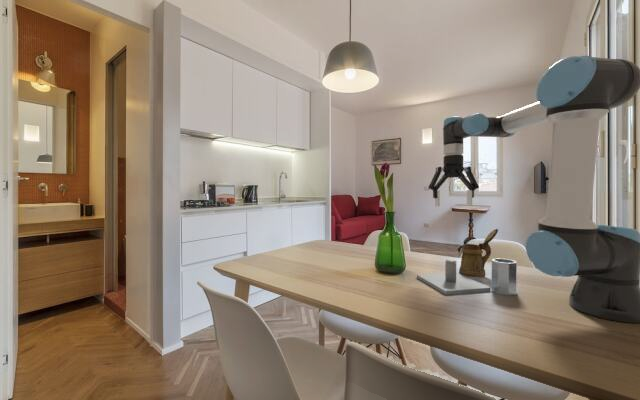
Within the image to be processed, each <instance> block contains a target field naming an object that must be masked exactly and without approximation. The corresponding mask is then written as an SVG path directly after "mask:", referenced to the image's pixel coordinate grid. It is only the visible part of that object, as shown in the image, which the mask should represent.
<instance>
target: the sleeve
mask: <svg viewBox="0 0 640 400" xmlns="http://www.w3.org/2000/svg"><path fill="white" fill-rule="evenodd" d="M517 262H518V261H517V260H514V259H511V258H510V259H509V258H502V257H498V258H491V292H493V293H496V294H498V295H503V296H504V295H505V296H517Z"/></svg>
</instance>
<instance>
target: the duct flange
mask: <svg viewBox="0 0 640 400" xmlns="http://www.w3.org/2000/svg"><path fill="white" fill-rule="evenodd" d="M444 263H445V265H444V266H445V268H444V269H445V270H444V271H445V272H438V273H421V274H416V279H418V280H420V281H421V282H423V283H425V284H427V285H429V286H430V287H432V288H434V289H435V290H437V291H438V292H440V293H442V294H443V295H446V296H449V295H450V296H451V295H462V294H473V293H483V292H484V293H486V292H492V287H490V286H487V285H486V284H483V283H481V282H478V281H477V280H474V279H472V278H470V277H467V276H466V275H464V274H461V273H458V272H457V260H455V259H445V262H444Z"/></svg>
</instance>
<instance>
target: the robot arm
mask: <svg viewBox="0 0 640 400" xmlns="http://www.w3.org/2000/svg"><path fill="white" fill-rule="evenodd" d="M639 90H640V67H639V66H638V65H637V64H635V63H634V62H632V61H630V60H626V59H621V58H607V57H606V58H605V57H597V56H596V57H594V56H591V55H590V56H589V55H581V56H577V55H575V56H568V57H565V58H562V59H560V60H558V61H556V62H555V63H554V64H552V66H550V67H549V68H548V69H547V70H546V73H544V74H542V77H541V78H540V80H539V82H538V84H537V87H536V92H535V93H536V94H535V96H536V99H537V102H534V103H532V104H529V105H526V106H524V107H521V108H519V109H515V110H513V111H510V112H509V113H508V112H507V113H506V114H504V115H500V116H487V115H486V114H485V115H484V114H483V113H480V112H477V113H472V114H469V115H468V116H466V117H463V116H457V115H456V116H450V117H446V118H445V119H444V120H443V127H442V130H443V131H442V134H443V137H442V139H443V140H442V141H443V155H444V156H443V167H441V166H438V167H435V173H434V175H433V177H432V179H431V181H430V183H429V184H428V187H427V189H428V190H431V191H432V197H433V199H434V206H435V207H440V206H441V203H440V202H441V201H440V200H441V197H440V196H441V195H440V194H441V193H440V190H439V189H440V188H441V186H442V185H443V184H444V183H445V182H446V180H447V179H450V178H458V179H459V181H461V182H462V184H464V185H465V187H466V188H467V189H468V190H466V206H467V207H473V198H474V197H475V191H476V190H477V189H479V188H480V186H479V184H478V181H477V180H476V177H475V176H474V173H473V172H472V167H471V166H470V165H469V166H465V167H464V155H463V154H464V139H466V138H470V137H484V138H485V137H486V138H487V137H488V138H510V137H513V136H515V134H516V133H517V132H521V131H526V130H529V129H531V128H534V127H538V126H542V125H545V124H549V123H551V124H552V133H551V146H550V158H549V172H548V184H547V185H548V187H547V198H546V199H547V200H546V201H547V202H546V214H545V216H544V217H542V218H541V219H539V220H538V222H537V223H538V224H537V230H536V231H533V232H532V233H531V234H530V235H529V236H528V237H527V239H526V240H525V252H526V254H527V257H528V259H529V261H530V262H531V263H532V264H533V266H534V267H535V268H536V269H537V270H538V271H540V272H542V273H544V274H545V275H548V276H550V277H551V276H552V277H562V278H569V277H575V276H576V277H577V279H576V281H575V283H574V286H573V287H572V289H571V291H570V294H569V298H568V302H569V303H568V304H569V306H570V307H572V308H574V309H575V310H577V311H578V312H579V311H580V312H582V313H585V314H587V315H590V316H593V317H596V318H601V319H605V320H610V321H615V322H621V323H631V324H640V232H639V231H638V230H637V229H635V228H629V227H624V226H623V227H622V226H613V225H607V224H606V225H604V224H596V223H595V222H594V221H593V220H592V218H591V217H592V216H591V215H592V206H593V194H594V183H595V173H596V162H597V153H598V152H597V150H598V138H599V128H600V120H601V119H602V118H604V117H605V116H606V115H607V114H608V113H609V112H610V110H611V109H615V108H618V107H620V106H622V105H624V104H626V103H628V102H629V101H630V100H631V99H633V97H635V96H636V94H637V93H639ZM442 172H444V174H443V175H442V176H441V177H440V175H441V173H442ZM463 172H464V173H465V174H466V175H465V174H464V173H463ZM439 177H440V179H439ZM438 179H439V180H438Z"/></svg>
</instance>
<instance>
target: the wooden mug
mask: <svg viewBox="0 0 640 400" xmlns="http://www.w3.org/2000/svg"><path fill="white" fill-rule="evenodd" d="M498 233H499V229H498V228H496V229H493V230H492V231H490V233H488V235H487V236H486V237H485V238H484V241H483V242H482V243H478V244H473V243H463V245H462V248H461V259H460V267H459V269H458V272H459V273H458V274H460V275H463V276H468V277H484V276H485V275H486V270H485V265H486V263H487V262H488V260H489V258H490V256H491V254H492V248H491V246H490V244H489V243H491V241H492V240H493V239H494V238H495V237H496V235H497V234H498ZM483 250H484V251H485V254H484V255H483V253H484V251H483Z"/></svg>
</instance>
